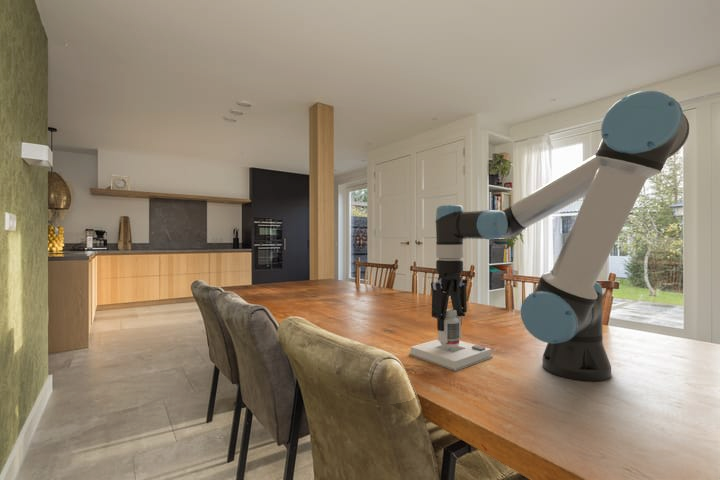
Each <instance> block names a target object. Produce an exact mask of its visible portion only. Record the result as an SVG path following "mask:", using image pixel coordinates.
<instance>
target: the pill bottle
mask: <svg viewBox="0 0 720 480" xmlns="http://www.w3.org/2000/svg"><path fill="white" fill-rule="evenodd" d="M456 316H457V311H456V310H453V308H452V309H451V308H449V309H448V308H447V311H446V317H445V319H447V340H448V343H443V342H440V343H441V344H442V345H444V346H450V347H454V346H458V345H459V341H460V339H459V319H458V318H456Z"/></svg>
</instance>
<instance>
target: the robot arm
mask: <svg viewBox="0 0 720 480" xmlns="http://www.w3.org/2000/svg"><path fill="white" fill-rule="evenodd" d="M600 135H601V138H602V139H601V141H600V143H599V146H598V148H597V150H596V152H595V154H594V155H592V156H591V157H589V158H587V159H586V160H584V161H582V162H580V163H579V164H578V165H576V166H574V167H573V168H571V169H569V170H568V171H566V172H564V173H563V174H560V175H559V176H558V177H556V178H554V179H553V180H551V181H549V182H548V183H546V184H544V185H543V186H541V187H539V188H538V189H536V190H534V191H532V192H531V193H530V194H527V195H525V197H523V198H521V199H520V200H518V201H516V202H514V203H513V204H511V205H509V206H508V207H506V208H505V209H503V210H500V209H485V210H475V211H464V207H463V206H462V205H460V204H450V205H448V204H444V205H439V206H438V207H437V208H436V213H435V215H436V217H435V230H436V231H435V233H436V237H435V238H436V242H435V243H436V246H435V247H436V253H435V254H436V255H435V257H436V259H437V260H436V261H435V270H436V271H435V272H436V273H437V274H438V278H437V281H434V282H433V281H432V282H431V283H430V288H431V317H432V318H434V319H436V321H437V322H436V323H437V324H436V325H437V327H436V329H437V337H438V338H437V339H438V341H440V342H443V343H448V340H447V319H445V317H446V311H447V309H448V305H449V300H451V301H450V302H451V306H452V309H453V310H456V311H457V316H456V318H458V319H459V340H461V339H462V325H463V324H462V321H463V319H462V318H463V317H465V316H466V314H467V312H468V309H467V308H468V307H467V301H468V300H467V285H468V279H464V278H462V276H461V274H464V273H463V272H464V261H463V260H462V259H463V258H464V240H467V239H469V240H470V239H471V240H473V239H474V240H497V239H512V238H516V237H517V236H519V235H521V233H522V232H523V231H524V230H526V229H527V228H529V227H531V226H533V225H534V224H536V223H538V222H539V221H542V220H543V219H545V218H548V217H550V216H552V215H553V214H555V213H556V212H559V211H560V210H563V209H564V208H566V207H568V206H570V205H571V204H573V203H575V202H577V201H579V200H581V199H583V198H584V199H583V201H582V204H581V205H580V208H579V210H578V212H577V213H576V217H575V218H574V221H573V223H572V225H571V227H570V230H569V232H568V234H567V237H566V239H565V241H564V243H563V245H562V247H561V249H560V252H559V254H558V256H557V259H556V261H555V262H554V265H553V267H552V269H551V270H550V271H546V272H544V273H542V274H541V277H540V278H539V280H538V283H537V285H536V288H535V289H534V292H531V293H529V294H528V296H526V298H525V299H524V300H523V301H522V303H521V306H520V319H521V321H522V323H523V325H524V328H525V329H526V330H527V332H528V333H529V334H531V336H532V337H533V338H535V339H537V340H539V341H540V342H543V343H546V347H545V348H544V352H543V354H542V359H541V360H542V367H543V368H544V369H545V370H546V371H548V372H550V373H551V374H553V375H554V374H555V375H556V376H559V377H563V378H567V379H572V380H579V381H584V382H585V381H586V382H587V381H589V382H599V381H606V380H609V379H611V378H612V365H611V362H610V360H609V357H608V354H607V351H606V349H605V345H604V343H603V342H604V341H603V340H604V339H603V333H604V331H603V330H604V329H603V328H604V327H603V325H604V323H603V322H604V321H603V317H604V316H603V304H604V303H603V298H604V293H603V287H602V285H601V283H599V282H597V280H598V278H599V277H600V274H601V273H602V270H603V269H604V266H605V264H606V262H607V260H608V258H609V256H610V254H611V251H612V250H613V248H614V246H615V244H616V241H617V240H618V238H619V235H620V234H621V232H622V229H623V228H624V226H625V224H626V221H627V220H628V217H629V215H630V214H631V211H632V209H634V208H633V207H634V205H635V204H636V202H637V199H638V198H639V196H640V193H641V191H642V189H643V188H644V186H645V183H646V181H647V180H649V179H650V178H652V177H655V176H657V175H659V174H661V172H662V170H663V168H664V167H665V164H666V162H667V161H668V159H670V158H671V157H672V156H674V155H675V154H677V153H678V151H680V150H681V149H682V148H683V147H684V145H685V144H686V142H687V141H688V137H689V135H690V123H689V119H688V118H687V116H686V115H685V113H684V111H683V109H682V106H681V104H680V103H679V101H677V100H676V99H675V98H673V97H671V96H670V95H668V94H666V93H664V92H661V91H658V90H641V91H636V92H634V93H630V94H629V95H625V96H624V97H623V98H620V99H619V100H617V101H616V102H615V103H614V104H613V105H612V106H611V107H609V109H608V110H607V112H606V113H605V114H604V116H603V119H602V122H601V126H600Z"/></svg>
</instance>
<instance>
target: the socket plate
mask: <svg viewBox="0 0 720 480" xmlns="http://www.w3.org/2000/svg"><path fill="white" fill-rule="evenodd" d="M408 355H409V356H411V357H414V358H416V359H420V360H422V361H425V362H428V363H431V364H434V365H437V366H439V367H442V368H445V369H449V370H451V371H454V372H456V371H460V370H463V369H465V368H468V367H470V366H474V365H476V364H478V363H481V362H484V361H487V360H489V359H492V358H493V355H492V348H489V347H485V346H481V345H479V344H473V343H470V342H466V341H462V340H459V345H458V346H454V347H450V346H444V345H442V344H441V343H440V341H438V338H437V339H433V340H430V341H427V342H424V343H423V342H422V343H419V344H416V345H413V346H412V345H411V346H410V353H409V354H408Z"/></svg>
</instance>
